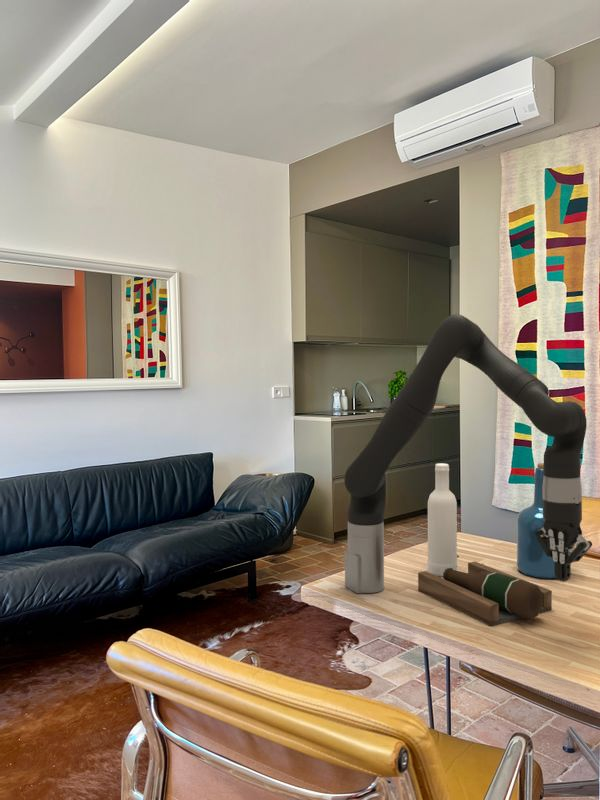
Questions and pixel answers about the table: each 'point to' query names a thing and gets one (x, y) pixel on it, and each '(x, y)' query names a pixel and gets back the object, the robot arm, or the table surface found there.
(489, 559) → the table surface
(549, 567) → the wine bottle
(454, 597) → the cradle
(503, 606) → the beer bottle
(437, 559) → the bottle
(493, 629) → the table surface
